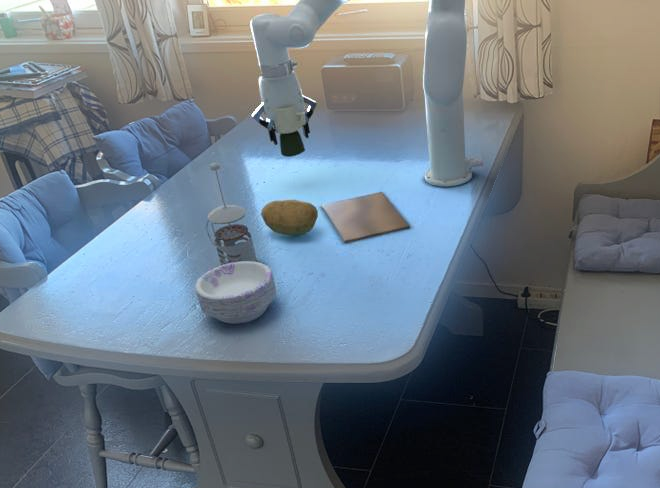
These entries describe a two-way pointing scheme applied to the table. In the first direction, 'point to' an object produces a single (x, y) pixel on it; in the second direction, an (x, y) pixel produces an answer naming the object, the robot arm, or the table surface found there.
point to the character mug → (289, 130)
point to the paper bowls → (236, 291)
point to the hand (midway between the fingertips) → (290, 139)
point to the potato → (289, 216)
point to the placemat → (364, 217)
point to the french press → (230, 232)
